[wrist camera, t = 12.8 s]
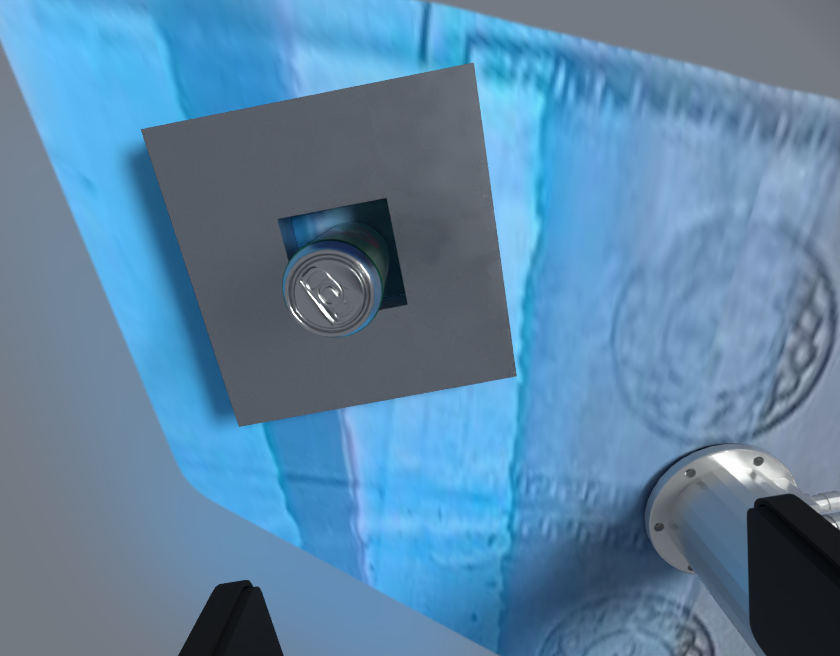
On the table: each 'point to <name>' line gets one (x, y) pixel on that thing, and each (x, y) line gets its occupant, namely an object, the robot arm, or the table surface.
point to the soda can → (337, 280)
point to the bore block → (329, 188)
